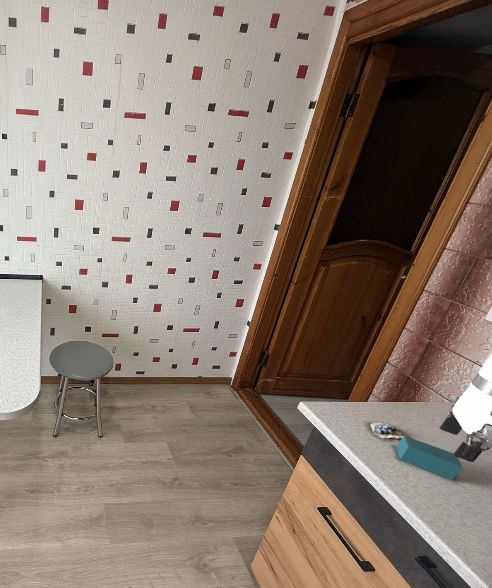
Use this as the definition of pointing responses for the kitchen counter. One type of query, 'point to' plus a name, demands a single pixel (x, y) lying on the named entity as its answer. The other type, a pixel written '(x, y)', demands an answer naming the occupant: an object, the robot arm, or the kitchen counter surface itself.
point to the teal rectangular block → (429, 457)
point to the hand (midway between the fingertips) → (455, 444)
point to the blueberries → (385, 430)
